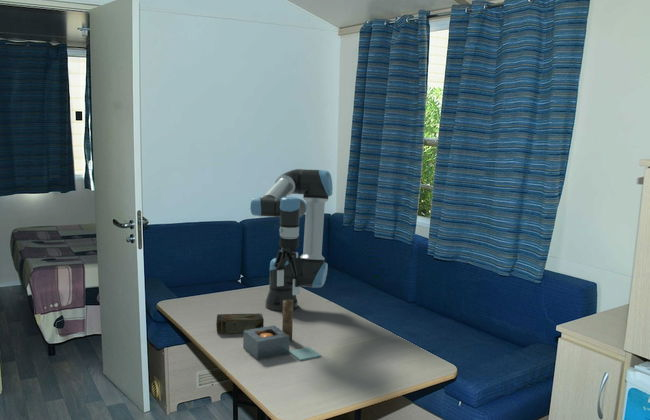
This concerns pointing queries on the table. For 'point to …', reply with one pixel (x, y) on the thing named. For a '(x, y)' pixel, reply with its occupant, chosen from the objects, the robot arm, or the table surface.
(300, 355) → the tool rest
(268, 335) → the button
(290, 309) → the brown rounded rod
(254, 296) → the table surface
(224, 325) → the beverage carton
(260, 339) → the box
